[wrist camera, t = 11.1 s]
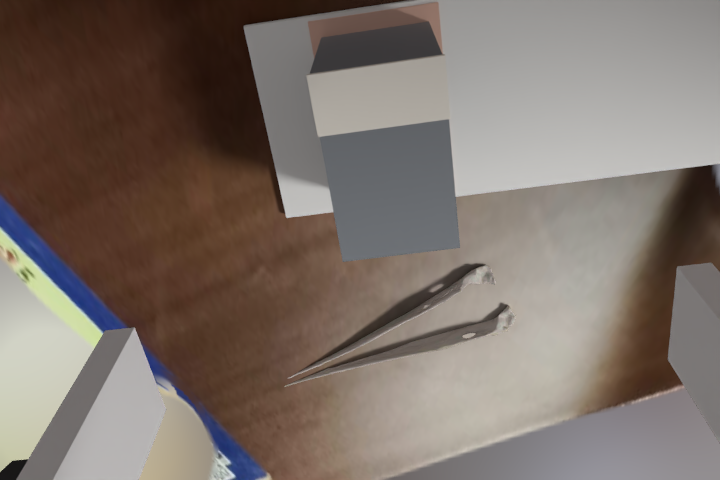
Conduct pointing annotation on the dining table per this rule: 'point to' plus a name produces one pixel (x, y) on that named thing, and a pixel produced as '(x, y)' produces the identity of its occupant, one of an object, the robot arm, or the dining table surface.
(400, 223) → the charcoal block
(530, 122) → the flat white strip
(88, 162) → the dining table surface
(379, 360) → the tweezers
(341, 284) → the dining table surface
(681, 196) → the dining table surface
